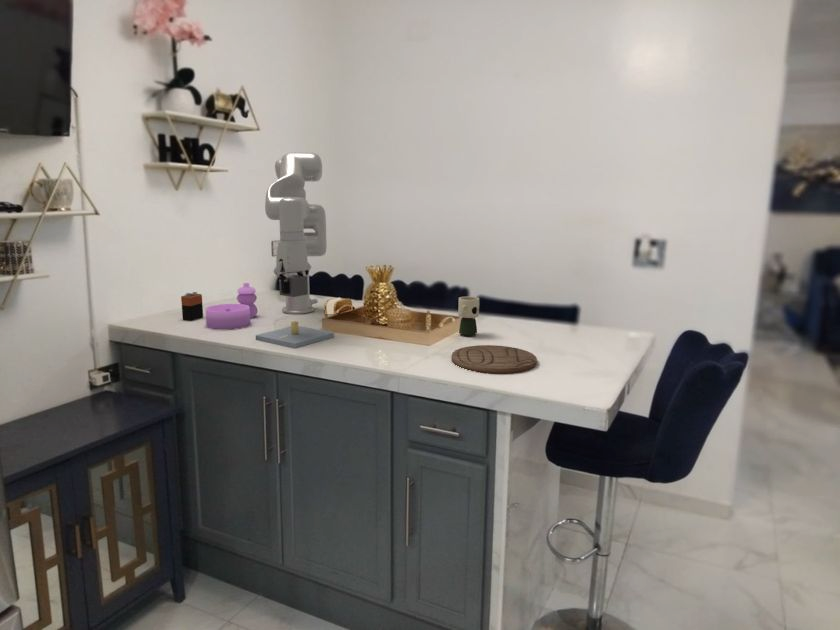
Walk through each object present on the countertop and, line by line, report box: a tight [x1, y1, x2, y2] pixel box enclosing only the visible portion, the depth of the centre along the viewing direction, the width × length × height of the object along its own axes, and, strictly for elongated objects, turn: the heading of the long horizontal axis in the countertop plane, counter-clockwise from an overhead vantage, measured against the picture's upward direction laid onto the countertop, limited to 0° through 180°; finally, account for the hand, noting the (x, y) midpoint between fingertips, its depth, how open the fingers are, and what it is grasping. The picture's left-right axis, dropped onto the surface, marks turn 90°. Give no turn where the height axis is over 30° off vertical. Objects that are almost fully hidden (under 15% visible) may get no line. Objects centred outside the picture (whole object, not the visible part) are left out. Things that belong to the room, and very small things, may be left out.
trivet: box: [451, 344, 538, 375], centre depth 179 cm, size 25×25×2 cm
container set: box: [205, 282, 258, 330], centre depth 224 cm, size 25×15×13 cm, turn 166°
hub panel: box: [255, 321, 335, 349], centre depth 202 cm, size 18×18×6 cm
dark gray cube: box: [278, 275, 308, 297], centre depth 198 cm, size 6×6×6 cm
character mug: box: [457, 296, 480, 337], centre depth 208 cm, size 11×7×13 cm, turn 153°
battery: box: [180, 291, 204, 322], centre depth 228 cm, size 4×7×10 cm, turn 159°
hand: (293, 291), depth 199 cm, fingers closed on dark gray cube, 6 cm apart
